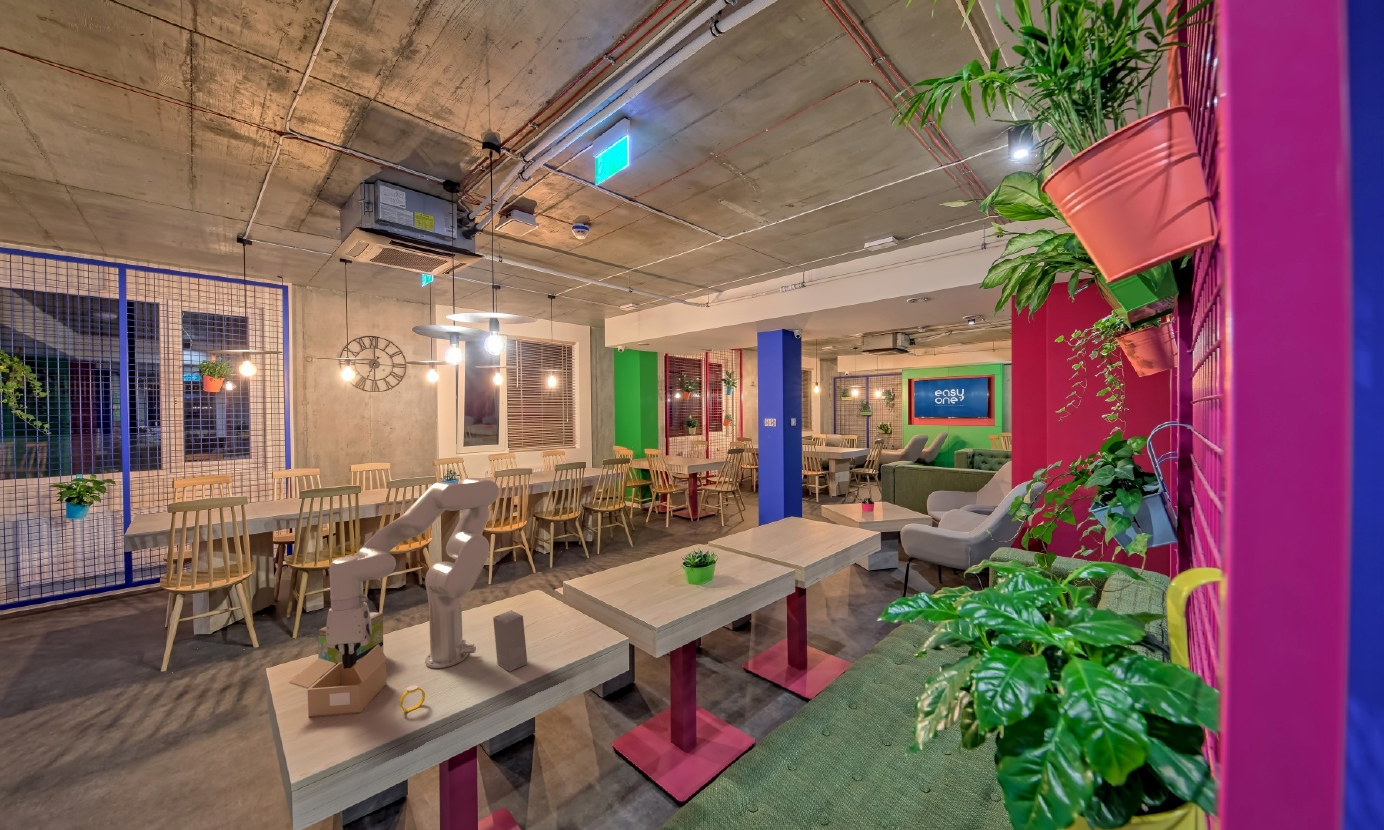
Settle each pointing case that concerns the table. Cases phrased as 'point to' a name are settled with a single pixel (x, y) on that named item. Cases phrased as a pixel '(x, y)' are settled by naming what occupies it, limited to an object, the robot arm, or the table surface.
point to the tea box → (362, 651)
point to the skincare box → (510, 640)
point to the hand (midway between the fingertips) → (349, 665)
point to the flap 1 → (312, 673)
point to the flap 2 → (370, 663)
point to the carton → (344, 691)
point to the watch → (411, 690)
